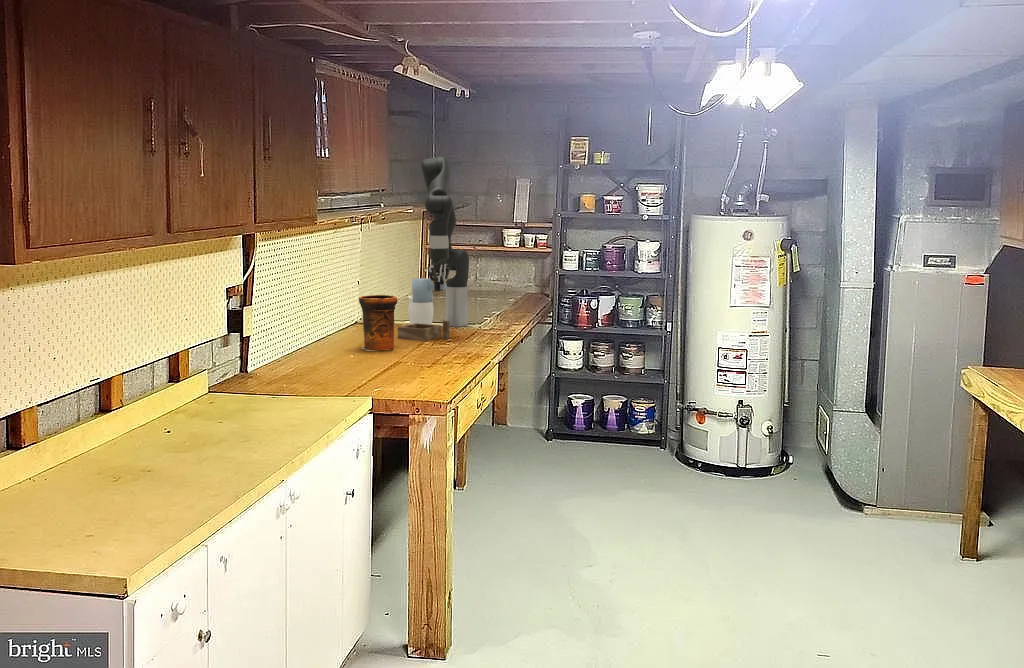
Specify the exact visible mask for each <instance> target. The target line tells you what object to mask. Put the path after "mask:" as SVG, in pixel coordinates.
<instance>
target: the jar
mask: <svg viewBox="0 0 1024 668" xmlns="http://www.w3.org/2000/svg"><path fill="white" fill-rule="evenodd" d="M407 297H408V300H409V301H408V306H407V307H408V308H407V310H408V311H407V312H408V319H409V325H410V324H414V323H419V324H429V325H433V321H434V320H433V319H434V313H435V312H434V311H435V309H434V303H433V302H428V303H414V302H413V298H412V295H409V296H407ZM433 299H434V295H433Z"/></svg>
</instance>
